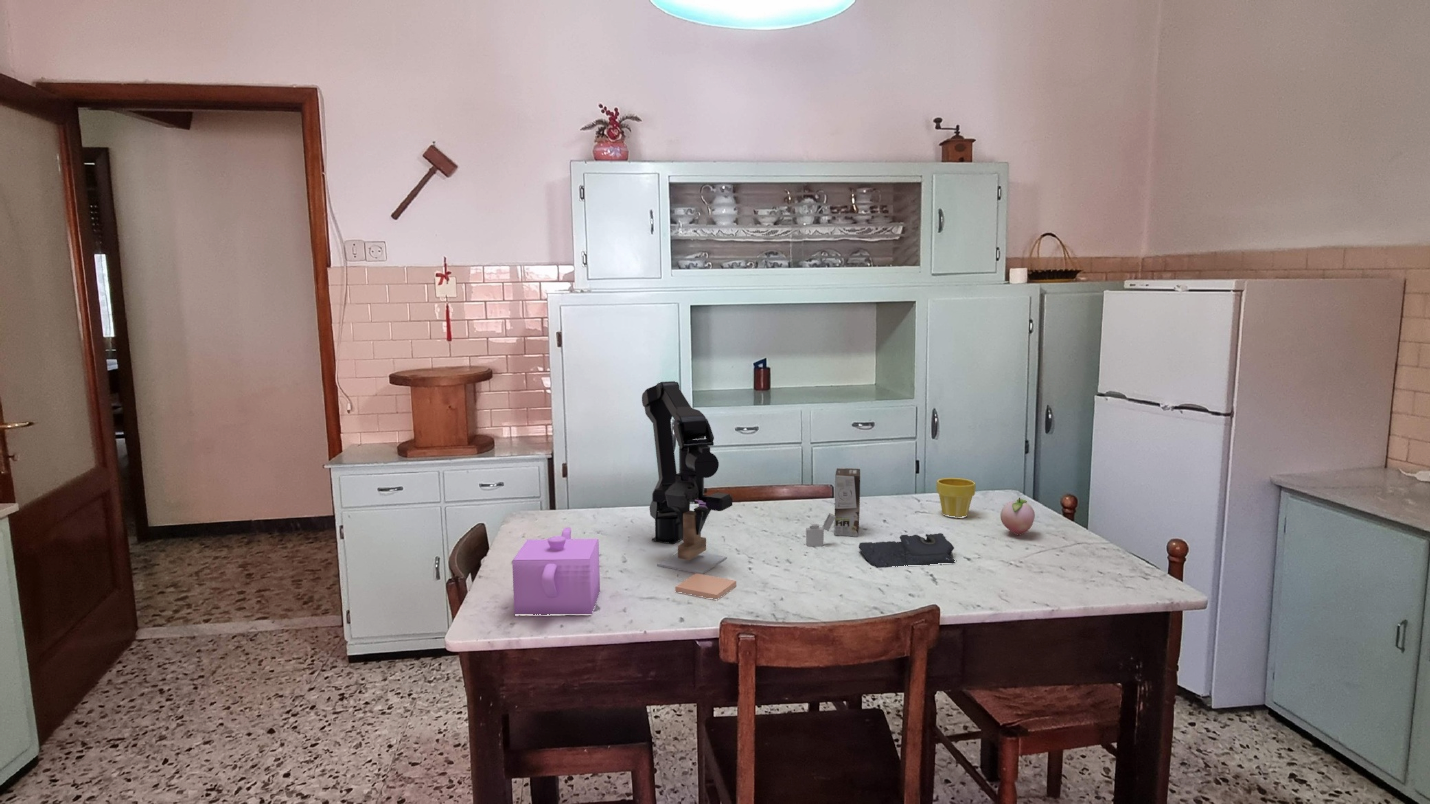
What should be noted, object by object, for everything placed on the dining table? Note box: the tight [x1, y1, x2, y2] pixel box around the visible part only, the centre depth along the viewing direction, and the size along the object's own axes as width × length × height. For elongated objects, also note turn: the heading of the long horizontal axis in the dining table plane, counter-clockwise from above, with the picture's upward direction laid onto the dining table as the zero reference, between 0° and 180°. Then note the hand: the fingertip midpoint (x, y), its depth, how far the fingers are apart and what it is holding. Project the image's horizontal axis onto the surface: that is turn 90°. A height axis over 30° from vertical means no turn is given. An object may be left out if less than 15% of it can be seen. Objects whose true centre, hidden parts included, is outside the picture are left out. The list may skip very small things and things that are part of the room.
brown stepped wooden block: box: [677, 510, 707, 560], centre depth 188 cm, size 3×8×10 cm, turn 151°
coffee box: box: [833, 467, 861, 538], centre depth 211 cm, size 9×6×16 cm
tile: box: [674, 573, 737, 599], centre depth 172 cm, size 10×2×9 cm
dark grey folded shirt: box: [858, 532, 956, 569], centre depth 193 cm, size 15×22×5 cm
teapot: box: [511, 526, 601, 615], centre depth 165 cm, size 15×25×14 cm, turn 1°
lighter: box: [805, 512, 836, 547], centre depth 201 cm, size 7×2×8 cm, turn 95°
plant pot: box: [936, 477, 976, 517], centre depth 226 cm, size 10×10×10 cm
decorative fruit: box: [1000, 497, 1036, 536], centre depth 207 cm, size 9×8×10 cm
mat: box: [656, 551, 728, 575], centre depth 189 cm, size 12×12×1 cm
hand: (692, 533), depth 188 cm, fingers closed on brown stepped wooden block, 3 cm apart
